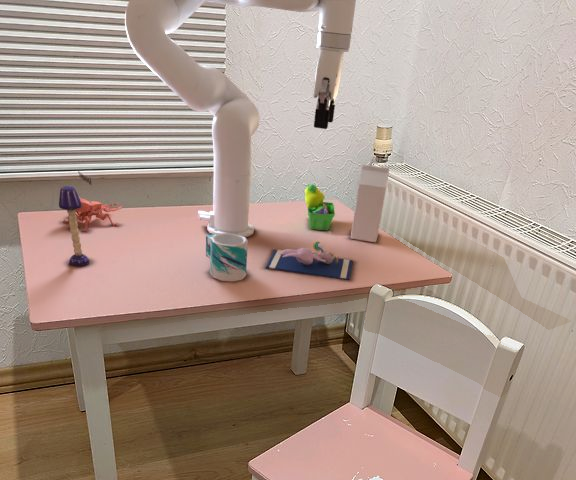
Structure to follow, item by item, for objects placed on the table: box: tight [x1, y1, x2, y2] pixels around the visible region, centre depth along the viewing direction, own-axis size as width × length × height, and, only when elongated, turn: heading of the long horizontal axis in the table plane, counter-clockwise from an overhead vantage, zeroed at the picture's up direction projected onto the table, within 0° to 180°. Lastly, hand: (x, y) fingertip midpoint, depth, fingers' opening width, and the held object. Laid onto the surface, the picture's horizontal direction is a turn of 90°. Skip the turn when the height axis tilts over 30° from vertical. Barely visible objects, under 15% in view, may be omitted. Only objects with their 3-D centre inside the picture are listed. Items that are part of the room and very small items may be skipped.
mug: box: [205, 233, 249, 282], centre depth 131 cm, size 8×12×8 cm
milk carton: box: [350, 164, 390, 243], centre depth 156 cm, size 7×7×19 cm
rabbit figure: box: [280, 241, 340, 265], centre depth 138 cm, size 6×6×15 cm
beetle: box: [62, 170, 123, 233], centre depth 149 cm, size 15×12×13 cm
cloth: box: [265, 248, 354, 281], centre depth 141 cm, size 20×12×1 cm, turn 81°
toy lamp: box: [58, 185, 90, 267], centre depth 126 cm, size 5×5×17 cm
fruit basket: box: [304, 183, 336, 231], centre depth 163 cm, size 11×9×11 cm
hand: (323, 124), depth 138 cm, fingers open, 9 cm apart
